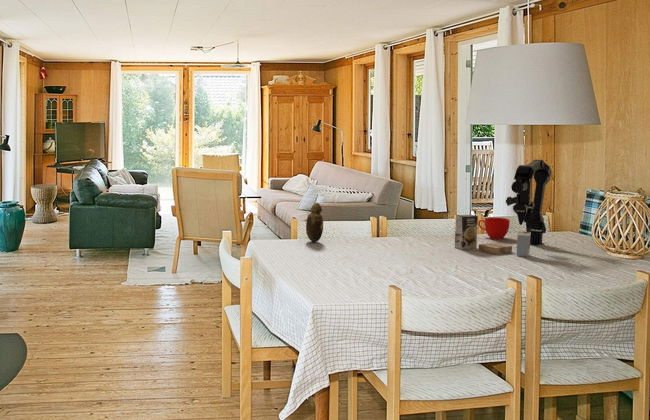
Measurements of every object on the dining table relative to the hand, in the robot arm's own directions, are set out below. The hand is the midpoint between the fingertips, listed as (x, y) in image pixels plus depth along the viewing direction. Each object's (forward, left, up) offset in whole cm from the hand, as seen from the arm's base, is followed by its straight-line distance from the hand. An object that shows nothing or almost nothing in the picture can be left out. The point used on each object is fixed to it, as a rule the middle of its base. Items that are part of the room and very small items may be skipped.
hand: (522, 223), depth 361 cm
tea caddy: (+10, +10, -13) cm, 19 cm away
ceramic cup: (-13, -33, -13) cm, 38 cm away
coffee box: (+20, -18, -13) cm, 30 cm away
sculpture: (+76, -69, -13) cm, 103 cm away
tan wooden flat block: (+14, -4, -13) cm, 19 cm away
